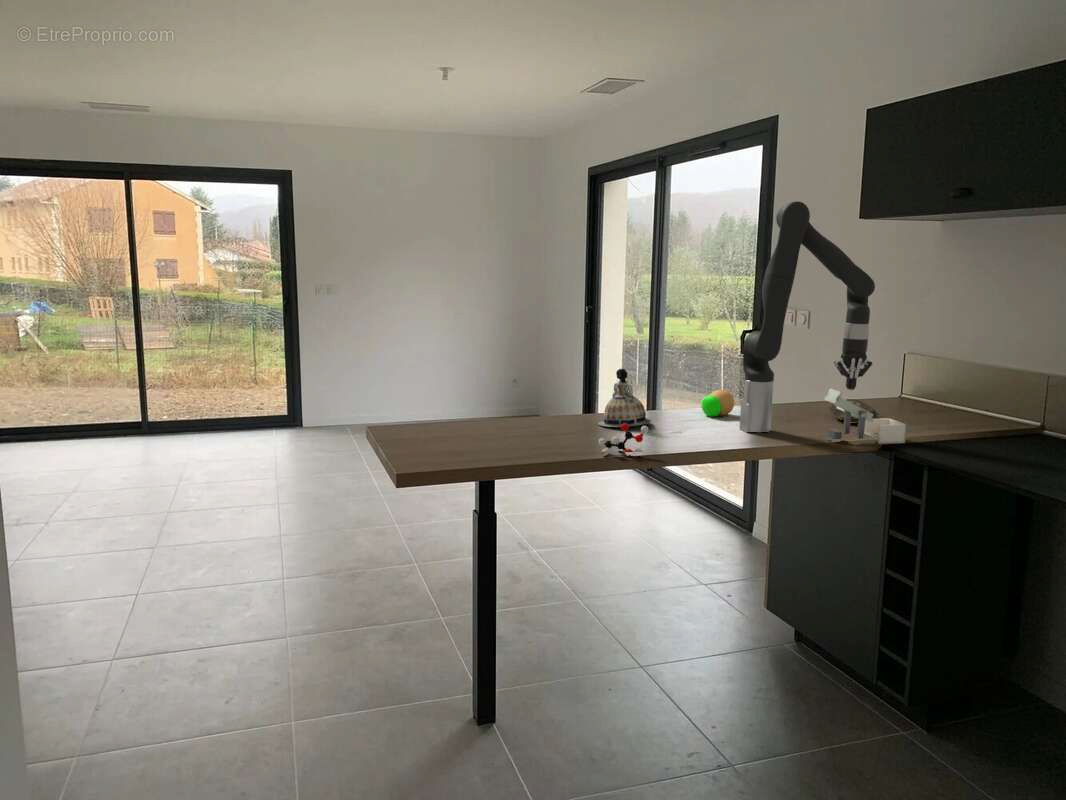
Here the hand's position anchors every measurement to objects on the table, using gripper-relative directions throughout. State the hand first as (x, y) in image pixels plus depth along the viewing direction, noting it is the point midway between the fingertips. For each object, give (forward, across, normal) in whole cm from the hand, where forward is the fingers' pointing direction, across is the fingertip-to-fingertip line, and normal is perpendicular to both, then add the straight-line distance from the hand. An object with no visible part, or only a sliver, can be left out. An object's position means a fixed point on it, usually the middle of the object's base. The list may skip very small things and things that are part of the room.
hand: (850, 389), depth 261 cm
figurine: (+16, -71, +21) cm, 75 cm away
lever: (+6, -6, -5) cm, 10 cm away
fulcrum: (+15, -6, -11) cm, 19 cm away
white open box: (+14, +6, -12) cm, 20 cm away
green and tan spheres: (+15, -33, +31) cm, 48 cm away
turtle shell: (+15, +13, +16) cm, 25 cm away
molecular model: (+16, -82, -17) cm, 85 cm away
